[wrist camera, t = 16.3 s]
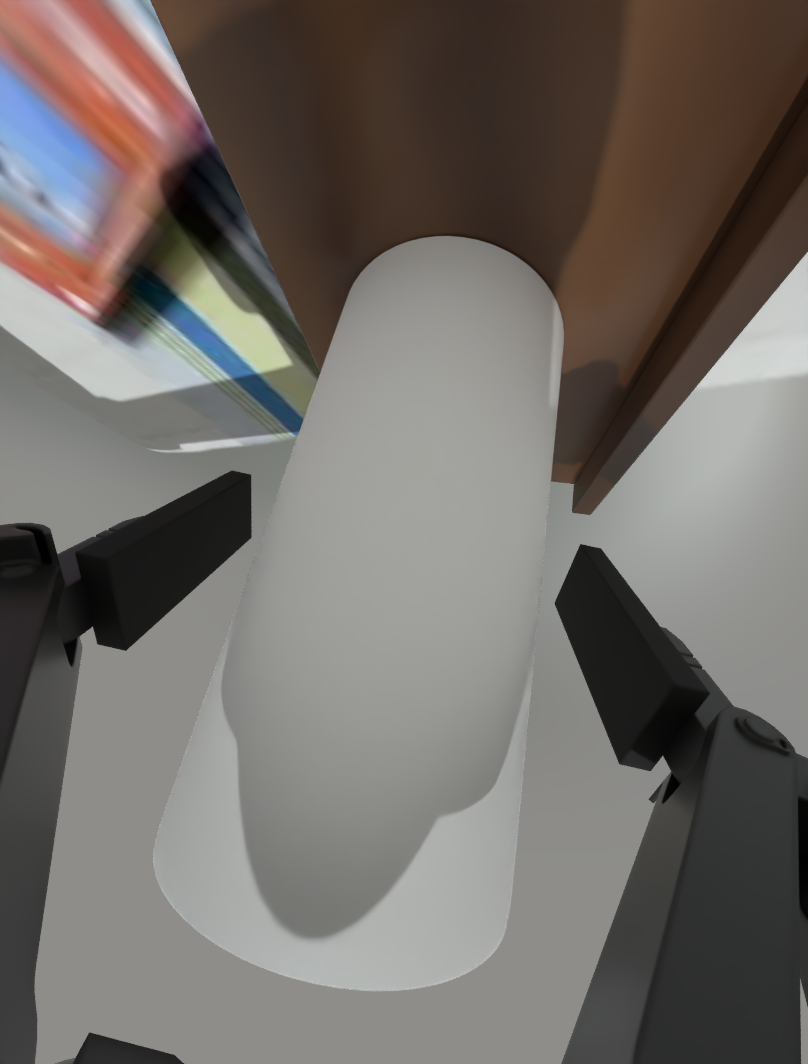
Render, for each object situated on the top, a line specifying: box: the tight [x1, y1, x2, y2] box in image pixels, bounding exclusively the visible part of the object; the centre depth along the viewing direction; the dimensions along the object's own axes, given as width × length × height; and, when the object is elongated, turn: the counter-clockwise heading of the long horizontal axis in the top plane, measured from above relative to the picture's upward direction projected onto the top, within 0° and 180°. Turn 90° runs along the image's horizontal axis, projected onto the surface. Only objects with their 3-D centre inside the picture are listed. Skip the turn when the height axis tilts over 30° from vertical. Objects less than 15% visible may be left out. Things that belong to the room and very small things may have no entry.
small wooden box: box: [150, 0, 808, 515], centre depth 15 cm, size 14×18×11 cm
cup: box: [153, 236, 564, 991], centre depth 12 cm, size 8×8×16 cm
